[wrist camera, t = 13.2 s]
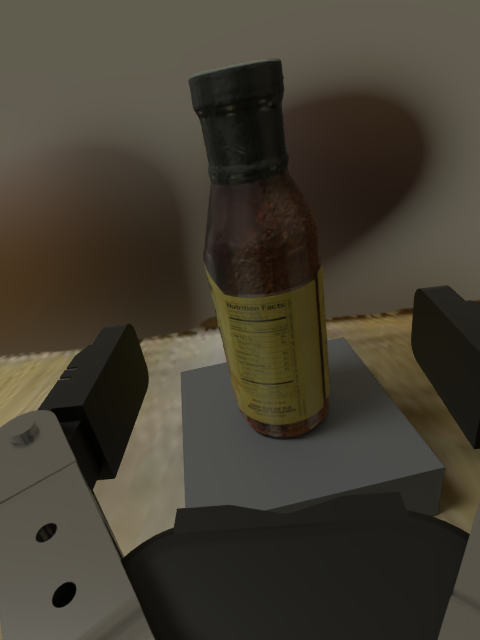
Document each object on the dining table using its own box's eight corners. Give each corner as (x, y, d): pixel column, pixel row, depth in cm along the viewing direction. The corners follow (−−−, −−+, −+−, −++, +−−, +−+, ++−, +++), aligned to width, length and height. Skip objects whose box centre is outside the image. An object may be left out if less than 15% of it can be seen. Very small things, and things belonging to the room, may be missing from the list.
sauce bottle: (271, 372, 30) (231, 74, 21) (347, 397, 27) (340, 48, 17) (217, 425, 26) (135, 82, 17) (298, 464, 22) (253, 50, 13)
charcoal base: (344, 375, 35) (343, 337, 33) (437, 514, 23) (444, 467, 21) (190, 409, 34) (180, 372, 32) (201, 573, 22) (186, 529, 20)
